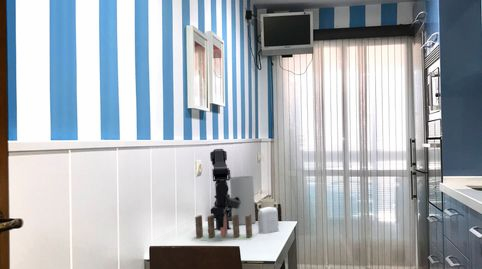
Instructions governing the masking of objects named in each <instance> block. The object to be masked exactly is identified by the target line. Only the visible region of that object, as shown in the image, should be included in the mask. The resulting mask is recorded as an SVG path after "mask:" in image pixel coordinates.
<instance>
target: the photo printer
mask: <svg viewBox="0 0 482 269" xmlns="http://www.w3.org/2000/svg"><path fill="white" fill-rule="evenodd" d="M274 207H275V206H274ZM274 207H265V208H262V209H260V210H258V211H257V225H258V234H260V235H261V234H262V235H265V234H271V233H275V232H279V214H278V212H279V211H278V208H277V209H276V208H274Z"/></svg>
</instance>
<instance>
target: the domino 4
mask: <svg viewBox="0 0 482 269" xmlns="http://www.w3.org/2000/svg"><path fill="white" fill-rule="evenodd" d="M245 223H246V225H245V234H246V238H251V237H252V234H253V225H252V223H251V214H248V215H246V216H245Z"/></svg>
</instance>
